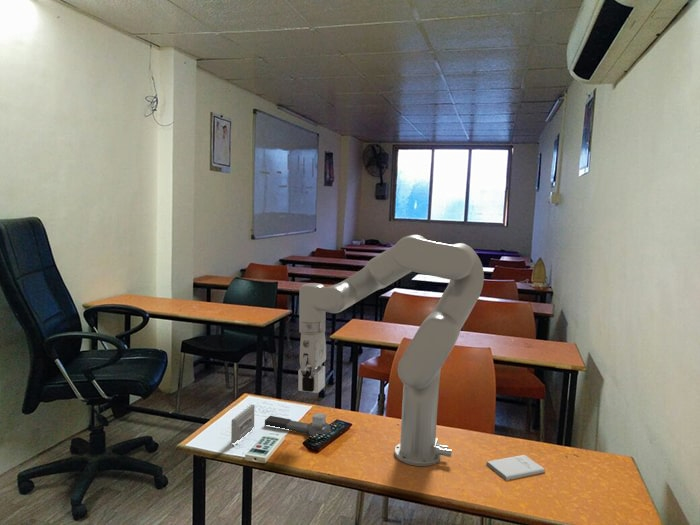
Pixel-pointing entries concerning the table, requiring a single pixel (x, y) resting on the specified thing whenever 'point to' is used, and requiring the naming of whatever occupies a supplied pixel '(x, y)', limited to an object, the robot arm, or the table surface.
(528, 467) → the external hard drive
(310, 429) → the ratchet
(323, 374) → the grey block
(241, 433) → the cassette
